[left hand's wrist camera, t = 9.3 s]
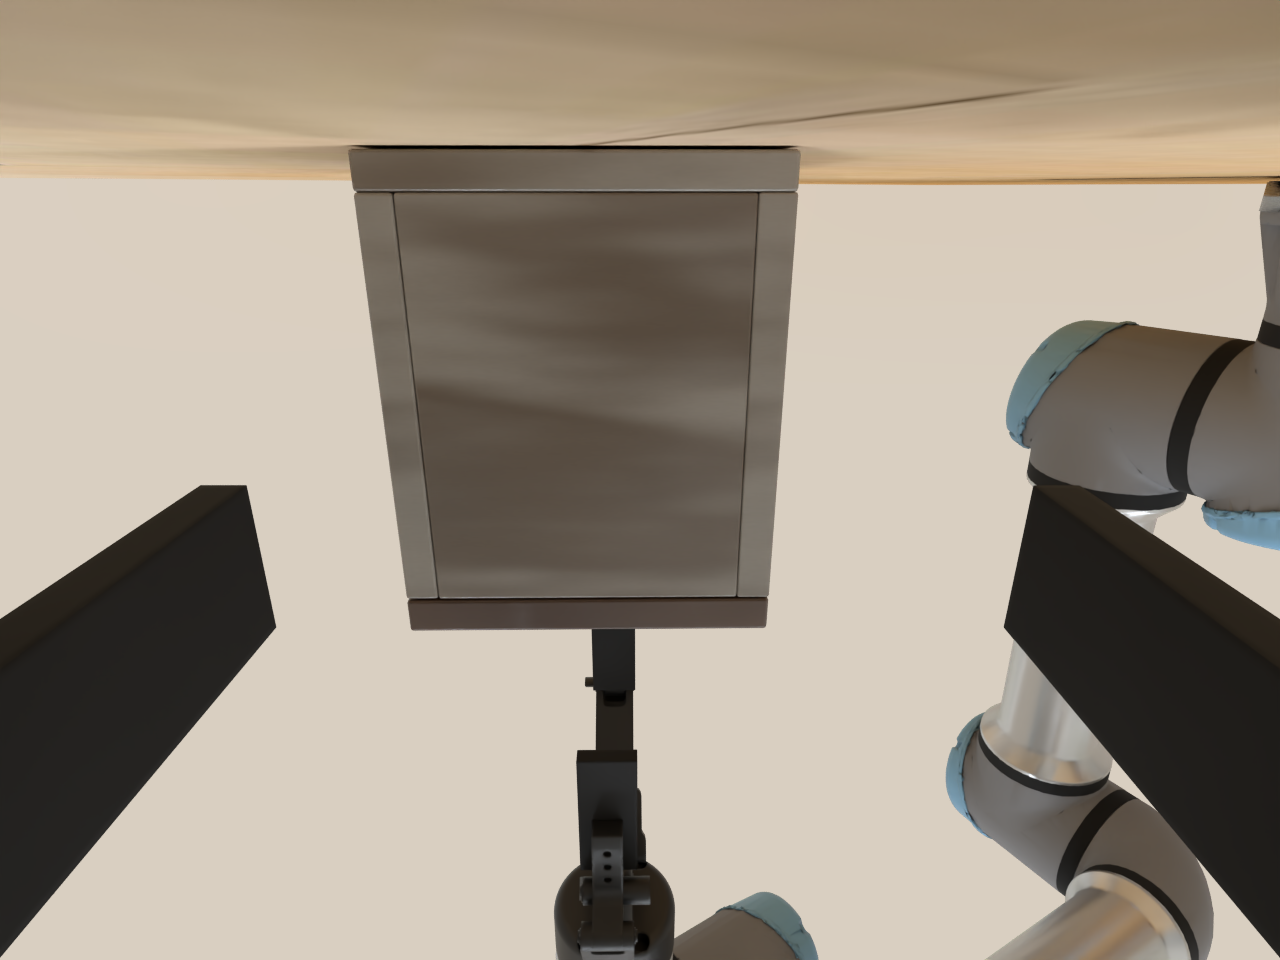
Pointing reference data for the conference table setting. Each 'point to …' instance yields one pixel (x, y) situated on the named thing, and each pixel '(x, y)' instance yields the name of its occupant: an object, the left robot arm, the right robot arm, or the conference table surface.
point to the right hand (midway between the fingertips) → (610, 664)
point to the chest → (580, 364)
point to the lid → (587, 613)
